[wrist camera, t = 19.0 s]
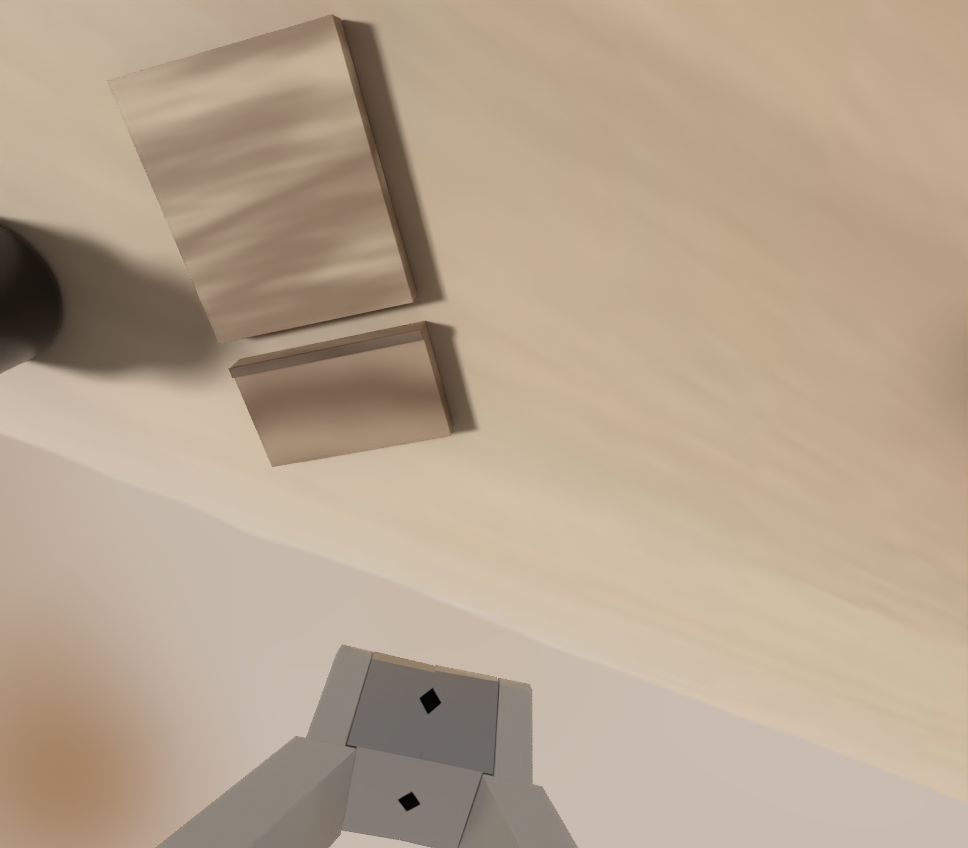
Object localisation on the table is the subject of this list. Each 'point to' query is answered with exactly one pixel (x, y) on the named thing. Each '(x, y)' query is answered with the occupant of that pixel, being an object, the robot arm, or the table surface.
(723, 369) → the table surface
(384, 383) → the laid plank
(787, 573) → the table surface
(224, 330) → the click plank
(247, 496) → the table surface
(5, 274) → the ink bottle
